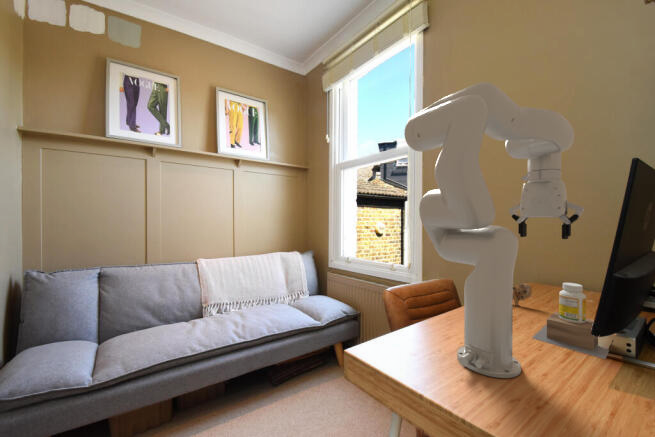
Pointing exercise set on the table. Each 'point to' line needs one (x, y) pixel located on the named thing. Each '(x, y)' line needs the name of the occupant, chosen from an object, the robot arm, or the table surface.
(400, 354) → the table surface
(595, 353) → the base plate
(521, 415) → the table surface
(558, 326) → the walnut block
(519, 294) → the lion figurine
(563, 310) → the supplement bottle
